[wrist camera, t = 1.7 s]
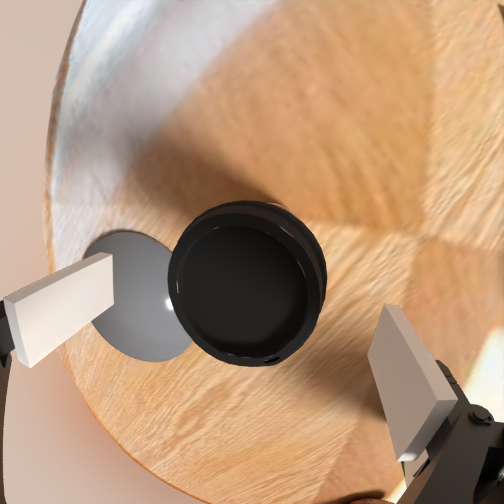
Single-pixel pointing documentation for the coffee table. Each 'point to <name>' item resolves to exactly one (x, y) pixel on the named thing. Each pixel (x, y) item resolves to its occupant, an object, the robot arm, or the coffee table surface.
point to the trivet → (140, 299)
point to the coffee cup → (248, 282)
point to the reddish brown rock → (371, 501)
